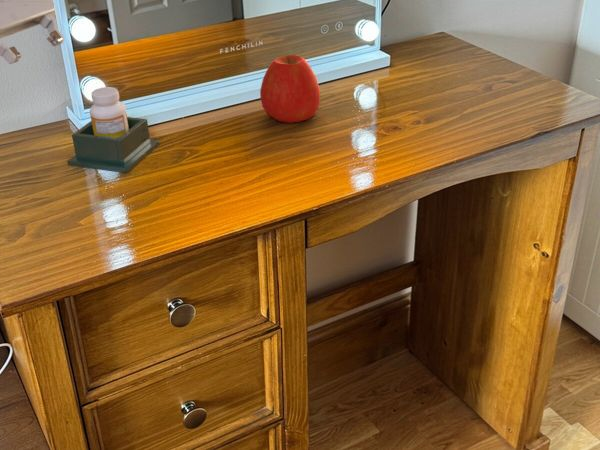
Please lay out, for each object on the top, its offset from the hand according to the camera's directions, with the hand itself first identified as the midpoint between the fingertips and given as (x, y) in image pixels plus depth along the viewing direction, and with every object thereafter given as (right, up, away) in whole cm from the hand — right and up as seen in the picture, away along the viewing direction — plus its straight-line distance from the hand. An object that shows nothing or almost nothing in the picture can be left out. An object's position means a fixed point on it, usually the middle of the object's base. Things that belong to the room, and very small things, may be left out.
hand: (38, 51), depth 117 cm
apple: (+39, -8, +15) cm, 42 cm away
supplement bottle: (+11, -15, +4) cm, 19 cm away
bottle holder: (+11, -16, +4) cm, 19 cm away
